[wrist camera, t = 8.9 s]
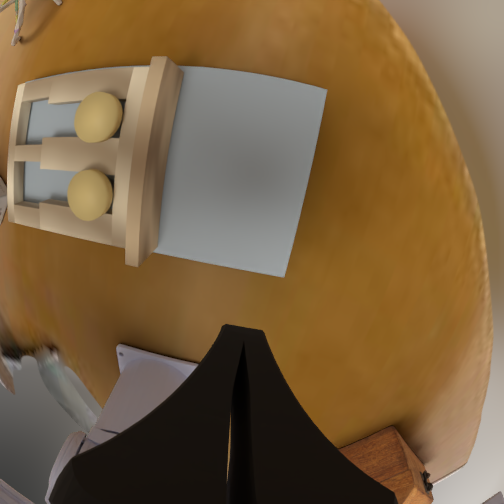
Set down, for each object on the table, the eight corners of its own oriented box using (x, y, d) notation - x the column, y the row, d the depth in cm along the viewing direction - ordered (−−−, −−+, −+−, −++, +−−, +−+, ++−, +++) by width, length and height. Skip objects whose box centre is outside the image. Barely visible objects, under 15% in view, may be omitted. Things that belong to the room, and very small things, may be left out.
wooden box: (427, 461, 34) (443, 509, 21) (358, 492, 38) (366, 540, 25) (403, 416, 26) (435, 501, 13) (293, 462, 30) (298, 544, 17)
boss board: (282, 269, 19) (287, 297, 15) (23, 217, 18) (-5, 229, 14) (322, 93, 14) (338, 79, 11) (34, 83, 14) (5, 79, 10)
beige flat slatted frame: (157, 246, 17) (138, 267, 14) (17, 217, 16) (-8, 228, 13) (184, 72, 13) (167, 56, 10) (27, 86, 12) (1, 83, 9)
